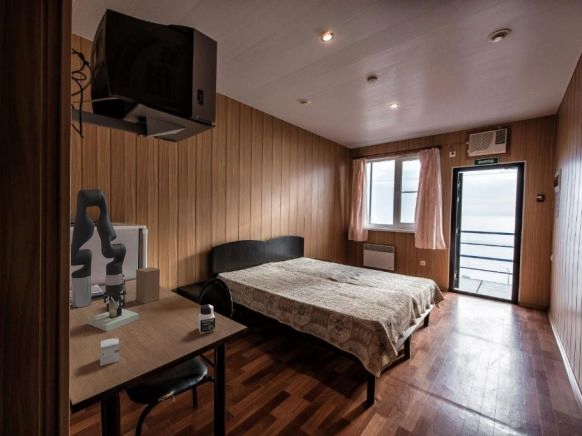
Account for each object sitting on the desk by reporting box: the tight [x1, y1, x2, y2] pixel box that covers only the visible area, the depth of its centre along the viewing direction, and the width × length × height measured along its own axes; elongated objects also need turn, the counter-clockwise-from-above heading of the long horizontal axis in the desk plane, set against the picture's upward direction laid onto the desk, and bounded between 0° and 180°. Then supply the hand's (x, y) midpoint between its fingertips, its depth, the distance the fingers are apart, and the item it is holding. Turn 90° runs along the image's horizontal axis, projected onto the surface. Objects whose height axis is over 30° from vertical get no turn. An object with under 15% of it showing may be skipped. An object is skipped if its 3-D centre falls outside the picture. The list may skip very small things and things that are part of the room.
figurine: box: [122, 273, 127, 295], centre depth 179 cm, size 9×12×15 cm
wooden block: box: [135, 266, 161, 305], centre depth 170 cm, size 10×10×20 cm
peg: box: [109, 302, 119, 319], centre depth 138 cm, size 4×4×10 cm
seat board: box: [87, 308, 140, 332], centre depth 138 cm, size 16×16×3 cm
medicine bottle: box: [197, 304, 216, 335], centre depth 133 cm, size 7×7×12 cm
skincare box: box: [99, 336, 120, 367], centre depth 105 cm, size 6×6×7 cm
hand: (114, 313), depth 138 cm, fingers open, 8 cm apart
